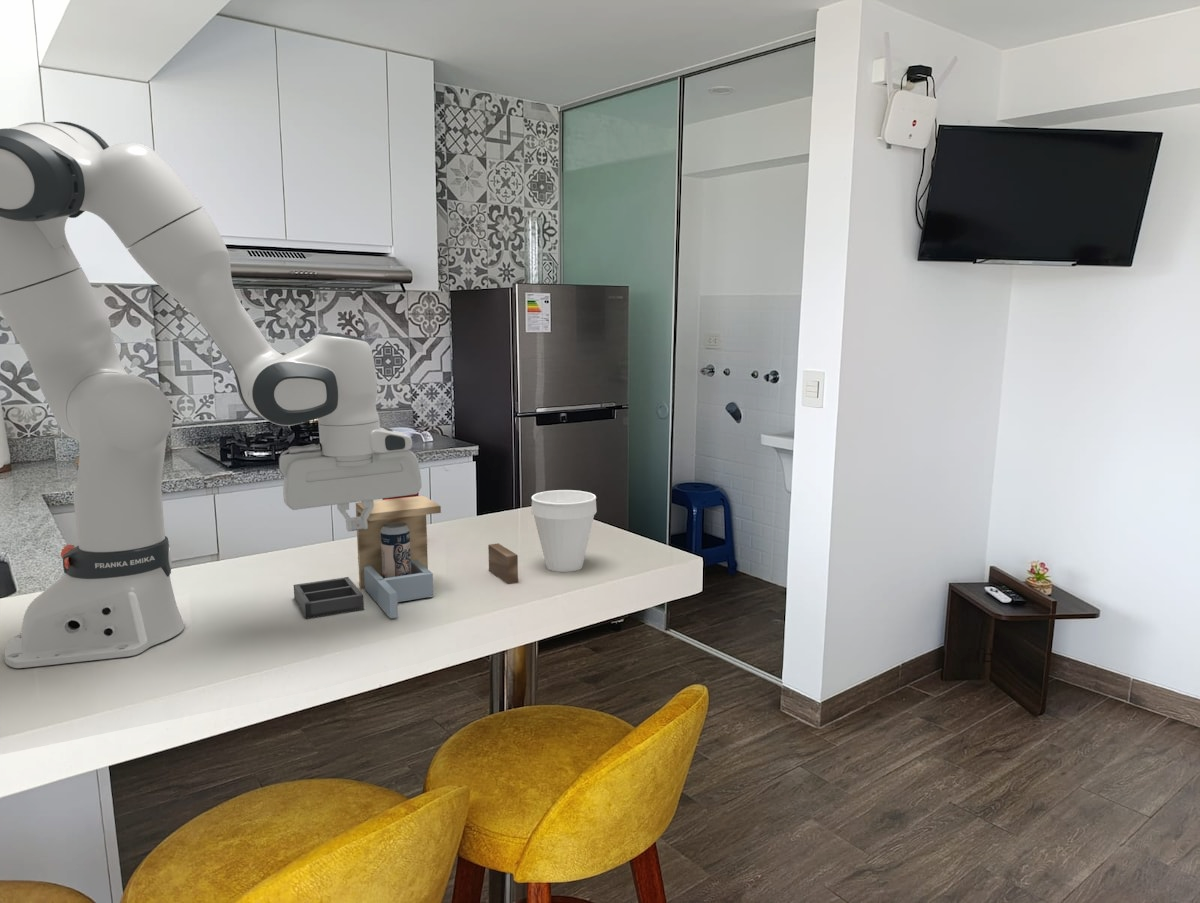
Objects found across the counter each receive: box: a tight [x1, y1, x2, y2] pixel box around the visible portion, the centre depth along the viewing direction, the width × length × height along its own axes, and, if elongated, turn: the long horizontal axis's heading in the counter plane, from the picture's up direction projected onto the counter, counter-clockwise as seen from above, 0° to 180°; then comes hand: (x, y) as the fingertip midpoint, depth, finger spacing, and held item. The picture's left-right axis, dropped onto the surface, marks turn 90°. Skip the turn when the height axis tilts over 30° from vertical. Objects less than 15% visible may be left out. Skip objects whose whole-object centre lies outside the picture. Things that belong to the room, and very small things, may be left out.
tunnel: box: [355, 495, 442, 590], centre depth 144 cm, size 12×10×15 cm
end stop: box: [487, 543, 519, 585], centre depth 153 cm, size 2×9×5 cm, turn 29°
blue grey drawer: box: [364, 560, 434, 619], centre depth 140 cm, size 9×16×4 cm, turn 29°
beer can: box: [381, 522, 411, 578], centre depth 143 cm, size 5×5×12 cm
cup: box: [530, 489, 598, 573], centre depth 158 cm, size 12×12×14 cm
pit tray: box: [293, 576, 365, 620], centre depth 138 cm, size 9×11×2 cm
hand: (357, 529), depth 129 cm, fingers closed
